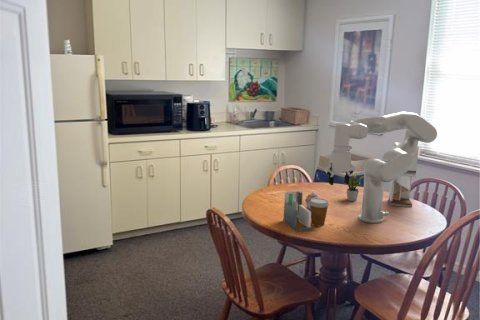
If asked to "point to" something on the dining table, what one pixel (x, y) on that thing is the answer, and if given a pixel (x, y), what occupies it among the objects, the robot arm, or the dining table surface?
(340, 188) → the dining table surface
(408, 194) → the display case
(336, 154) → the robot arm
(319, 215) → the disposable coffee cup
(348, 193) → the house plant
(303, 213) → the pale grey flat panel
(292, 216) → the gauge frame
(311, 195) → the cupcake
